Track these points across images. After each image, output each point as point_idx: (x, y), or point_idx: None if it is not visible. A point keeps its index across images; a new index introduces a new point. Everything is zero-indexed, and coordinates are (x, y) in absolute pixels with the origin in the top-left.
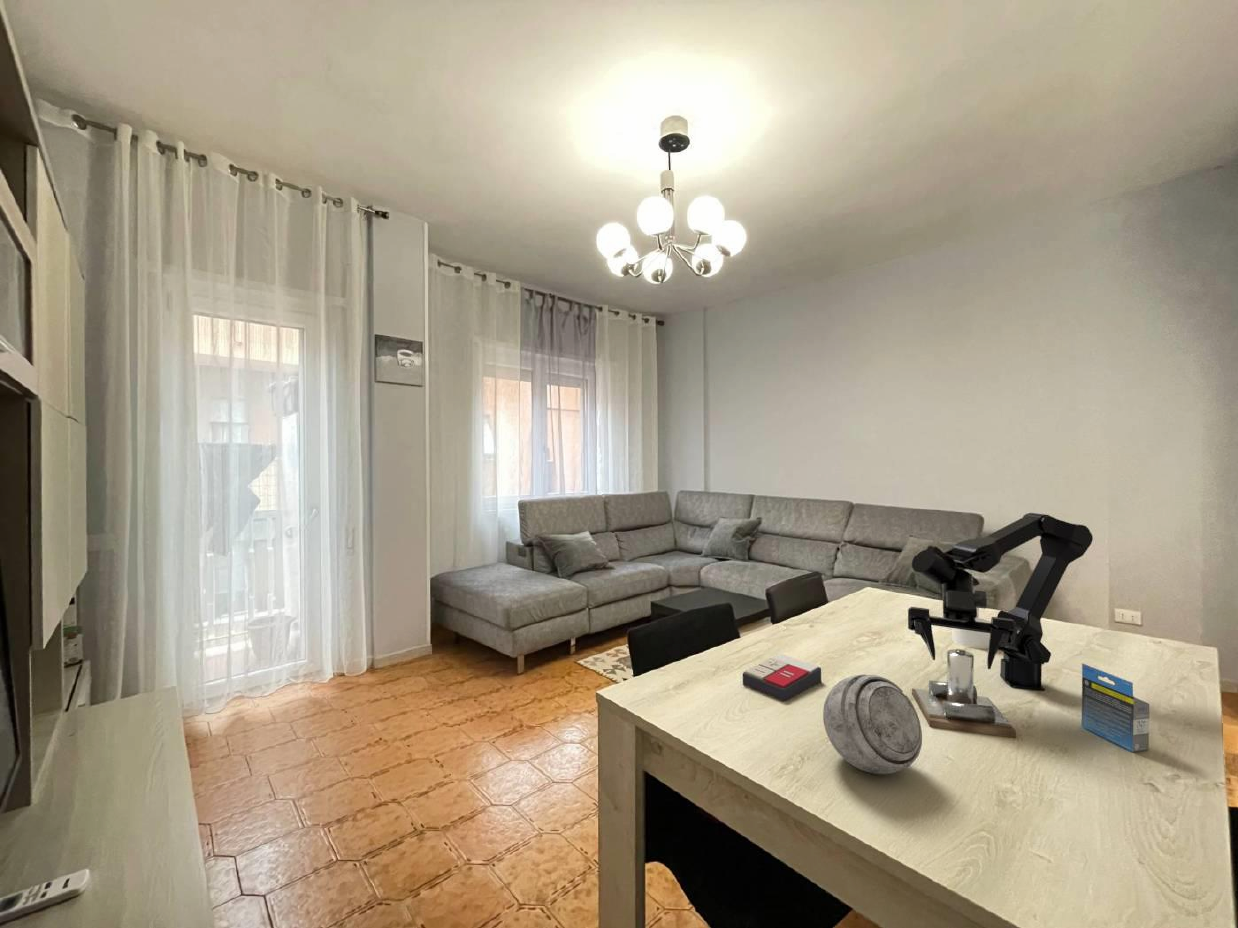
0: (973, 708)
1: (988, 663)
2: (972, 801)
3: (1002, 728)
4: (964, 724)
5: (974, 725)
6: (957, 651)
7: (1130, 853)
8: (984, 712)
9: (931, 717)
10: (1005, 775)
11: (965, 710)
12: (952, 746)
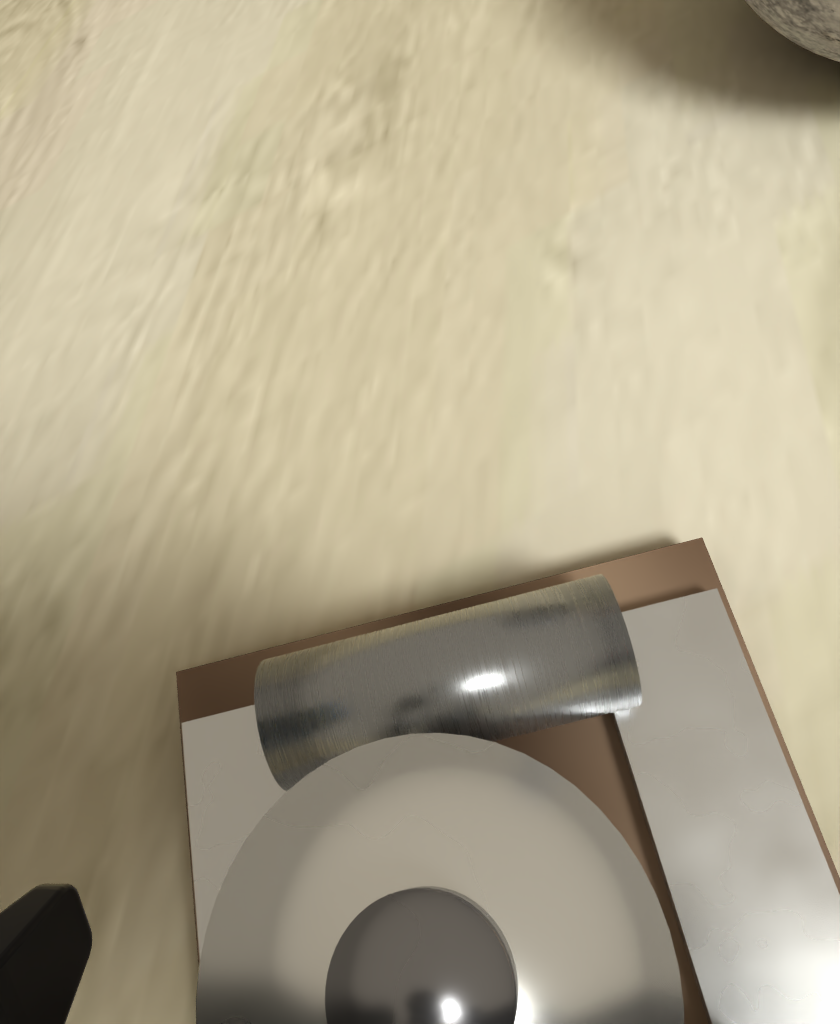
0: (401, 638)
1: (37, 920)
2: (481, 36)
3: (249, 672)
4: (479, 600)
5: (417, 619)
6: (480, 920)
7: (87, 60)
8: (329, 647)
9: (695, 591)
10: (337, 255)
11: (462, 613)
12: (551, 378)
